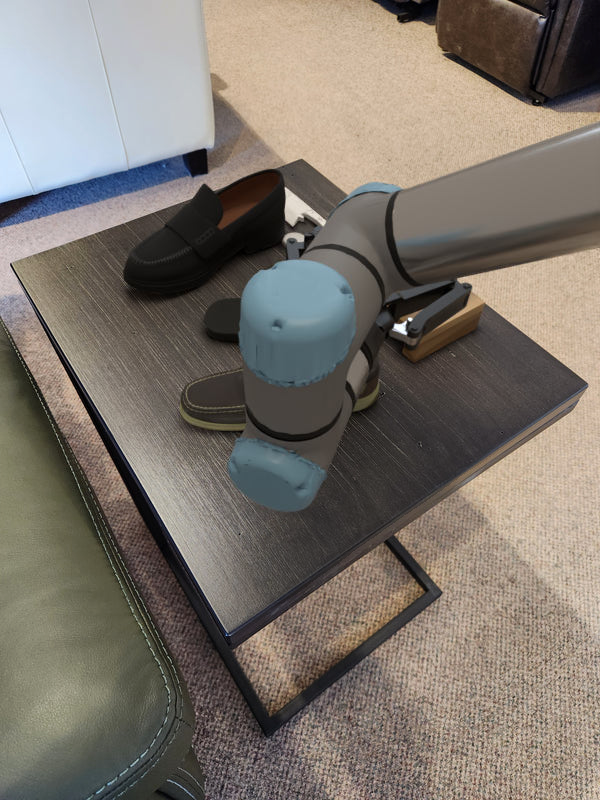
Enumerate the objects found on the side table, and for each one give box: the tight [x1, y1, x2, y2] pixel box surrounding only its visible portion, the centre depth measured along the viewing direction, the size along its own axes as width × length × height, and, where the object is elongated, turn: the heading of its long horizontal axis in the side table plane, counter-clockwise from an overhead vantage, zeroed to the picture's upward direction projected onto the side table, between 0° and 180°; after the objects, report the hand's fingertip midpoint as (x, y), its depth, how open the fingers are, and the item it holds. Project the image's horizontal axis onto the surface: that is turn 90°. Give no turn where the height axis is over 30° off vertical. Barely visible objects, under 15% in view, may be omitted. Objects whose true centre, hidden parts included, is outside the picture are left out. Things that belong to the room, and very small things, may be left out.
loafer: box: [122, 168, 286, 294], centre depth 88 cm, size 10×28×12 cm, turn 126°
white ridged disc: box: [281, 231, 305, 248], centre depth 95 cm, size 4×4×1 cm
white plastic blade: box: [285, 186, 327, 227], centre depth 100 cm, size 5×15×1 cm, turn 35°
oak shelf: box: [395, 280, 486, 364], centre depth 86 cm, size 22×12×5 cm, turn 35°
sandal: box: [204, 297, 242, 342], centre depth 81 cm, size 10×25×6 cm, turn 93°
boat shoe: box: [179, 355, 381, 432], centre depth 72 cm, size 9×25×8 cm, turn 104°
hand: (395, 231), depth 68 cm, fingers open, 13 cm apart
